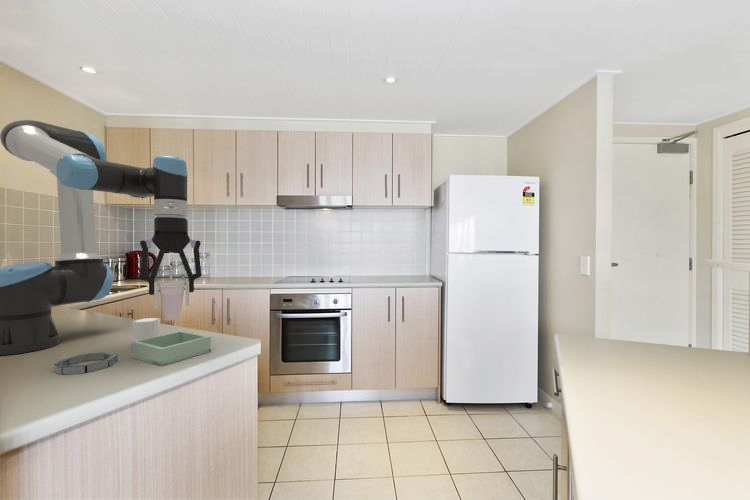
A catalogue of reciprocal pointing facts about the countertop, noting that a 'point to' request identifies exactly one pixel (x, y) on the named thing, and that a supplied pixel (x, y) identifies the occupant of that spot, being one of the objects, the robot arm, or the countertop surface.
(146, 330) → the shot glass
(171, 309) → the smoothie
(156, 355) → the bin
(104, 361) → the collar
